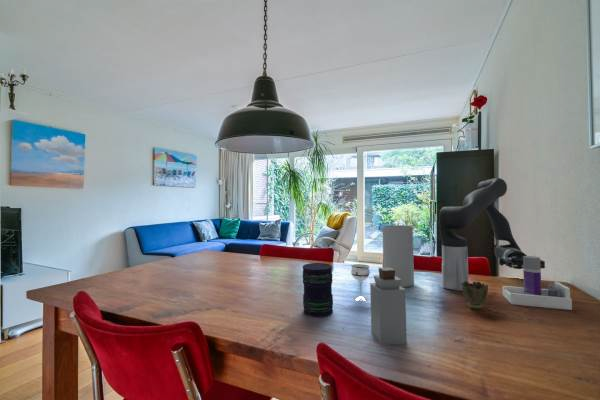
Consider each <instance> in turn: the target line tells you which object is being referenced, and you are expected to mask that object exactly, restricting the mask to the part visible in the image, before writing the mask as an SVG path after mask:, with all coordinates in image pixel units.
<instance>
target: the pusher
mask: <svg viewBox="0 0 600 400" xmlns="http://www.w3.org/2000/svg"><path fill="white" fill-rule="evenodd" d="M547 289H548V296H552V297H562V294H561V289H559V288H557V287H556V286H555V285H554V284H552V283H547Z"/></svg>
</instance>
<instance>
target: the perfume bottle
mask: <svg viewBox="0 0 600 400" xmlns="http://www.w3.org/2000/svg"><path fill="white" fill-rule="evenodd" d="M373 278H374V282H369V283H370V285H369V286H370V288H369V291H370V318H371V319H370V327H371V328H370V329H371V330H370V331H371V335H373V337H374V338H375V340H376V342H378V344H379V345H380V346H389V345H403V344H404V345H405V344H406V345H407V342H408V341H407V339H408V338H407V337H408V336H407V335H408V334H407V306H406V305H407V304H406V302H407V300H406V288H405V287H401V286H400V283H401V279H399V278H398V277H396V276H395V270H394V269H392V268H391V267H385V268H383V267H378V274H377V275H376V274H375V275H374V274H373Z"/></svg>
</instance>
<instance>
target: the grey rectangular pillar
mask: <svg viewBox="0 0 600 400" xmlns="http://www.w3.org/2000/svg"><path fill="white" fill-rule="evenodd" d="M413 227H414V226H412V225H408V224H407V225H404V224H403V225H402V224H400V225H399V224H395V225H394V224H388V225H382V229H381V230H382V258H383V259H382V260H383V261H382V264H383V266H382V268H385V267H391V268H392V269H394V270H395V276H396V277H398V278H399V279H401V283H400V286H401V287H402V288H408V287H412V286H413V285H415V269H414V261H415V260H414V234H413V233H414V229H413Z"/></svg>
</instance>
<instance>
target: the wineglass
mask: <svg viewBox="0 0 600 400" xmlns="http://www.w3.org/2000/svg"><path fill="white" fill-rule="evenodd" d="M350 267H351V270H350V274H351V276H352V278H354V279H355V280H357V281H358V282H359V296H355V297H354V298H353V299H354V300H355V301H358V302H365V301H368V300H369V299H368V297H365V296H362V285H363V283H362V282H363V281H364V280H367V279H368V277H370V272H371V271H370V269H369V268H370V266H369V265H368V264H363V263H362V264H360V263H358V264H352V265H350Z"/></svg>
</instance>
